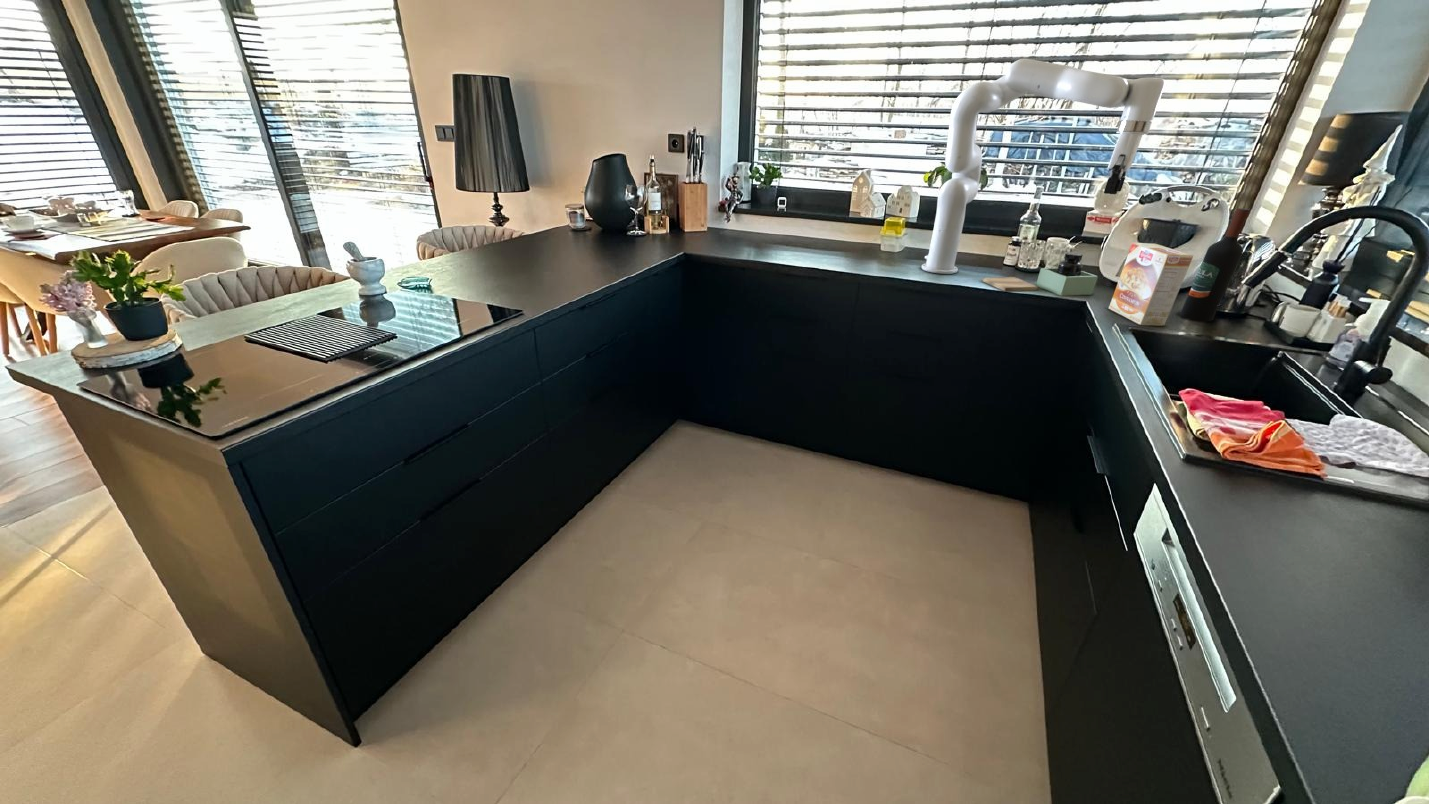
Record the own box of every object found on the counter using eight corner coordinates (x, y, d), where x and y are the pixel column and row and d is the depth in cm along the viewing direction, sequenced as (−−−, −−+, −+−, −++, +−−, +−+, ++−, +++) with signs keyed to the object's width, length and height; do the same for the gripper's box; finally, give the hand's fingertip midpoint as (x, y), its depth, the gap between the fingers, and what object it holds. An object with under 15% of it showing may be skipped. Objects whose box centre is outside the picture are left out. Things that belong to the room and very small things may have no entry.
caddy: (1035, 285, 188) (1040, 268, 185) (1065, 284, 190) (1071, 267, 187) (1060, 295, 178) (1066, 277, 175) (1091, 294, 180) (1098, 276, 177)
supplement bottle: (1069, 287, 186) (1080, 251, 181) (1078, 293, 180) (1091, 256, 175) (1047, 286, 187) (1058, 250, 181) (1056, 292, 181) (1068, 255, 175)
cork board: (982, 281, 191) (983, 277, 191) (1013, 280, 193) (1014, 276, 193) (1004, 291, 181) (1005, 287, 180) (1037, 290, 183) (1038, 286, 182)
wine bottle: (1214, 323, 156) (1265, 212, 142) (1181, 318, 160) (1227, 209, 146) (1210, 316, 162) (1259, 208, 148) (1178, 311, 166) (1223, 206, 152)
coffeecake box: (1107, 308, 167) (1131, 242, 158) (1131, 309, 167) (1156, 243, 157) (1139, 325, 153) (1167, 254, 144) (1165, 326, 153) (1195, 255, 144)
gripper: (1121, 127, 165) (1101, 188, 173) (1113, 127, 153) (1093, 193, 161) (1152, 128, 161) (1130, 191, 169) (1146, 128, 149) (1123, 196, 157)
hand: (1112, 192), depth 165 cm, fingers open, 9 cm apart
